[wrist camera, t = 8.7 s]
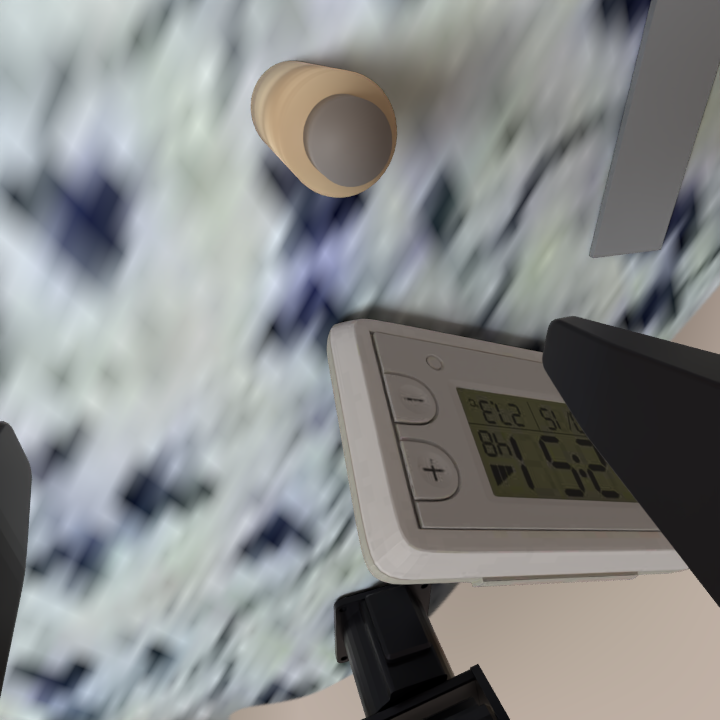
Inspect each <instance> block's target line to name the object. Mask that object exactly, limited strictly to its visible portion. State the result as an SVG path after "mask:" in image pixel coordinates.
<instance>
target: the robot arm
mask: <svg viewBox="0 0 720 720" xmlns="http://www.w3.org/2000/svg"><path fill="white" fill-rule="evenodd" d="M542 363H543V367H544V370H545V372H546V373H547V375H548V376H549V378H550V380H551V381H552V383H553V384H554V386H555V388H556V389H557V391H558V392H559V394H560V396H561V397H562V399H563V400H564V402H565V404H566V405H567V407H568V408H569V410H570V412H571V413H572V415H573V416H574V418H575V420H576V421H577V423H578V424H579V426H580V427H581V429H582V430H583V432H584V433H585V435H586V436H587V437H588V439H589V440H590V441H591V443H592V444H593V445H594V447H595V448H596V449H597V450H598V452H599V453H600V454H601V456H602V457H603V458H604V459H605V461H606V462H607V463H608V465H609V466H610V467H611V468H612V470H613V471H614V472H615V474H616V475H617V476H618V477H619V479H620V480H621V481H622V483H623V484H624V485H625V486H626V488H627V489H628V490H629V492H630V493H631V494H632V495H633V497H634V498H635V499H636V501H637V502H638V503H639V504H640V506H641V507H642V508H643V510H644V511H645V512H646V513H647V515H648V516H649V517H650V519H651V520H652V521H653V522H654V524H655V525H656V526H657V528H658V529H659V530H660V531H661V533H662V534H663V535H664V537H665V538H666V539H667V540H668V542H669V543H670V544H671V546H672V547H673V548H674V549H675V551H676V552H677V553H678V555H679V556H680V557H681V558H682V560H683V561H684V562H685V564H686V565H687V566H688V567H689V569H690V570H691V571H692V572H693V574H694V575H695V576H696V578H697V579H698V580H699V582H700V583H701V584H702V585H703V587H704V588H705V589H706V590H707V592H708V593H709V594H710V596H711V597H712V598H713V599H714V601H715V602H716V603H717V605H718V606H719V607H720V354H716V353H712V352H708V351H704V350H701V349H697V348H693V347H689V346H686V345H682V344H678V343H674V342H670V341H667V340H663V339H659V338H655V337H652V336H648V335H644V334H640V333H636V332H633V331H629V330H625V329H621V328H617V327H614V326H610V325H606V324H602V323H598V322H595V321H591V320H587V319H583V318H579V317H575V316H569V317H564V318H559V319H555V320H553V321H552V322H551V323H550V325H549V327H548V332H547V336H546V341H545V346H544V350H543V355H542ZM31 483H32V473H31V467H30V464H29V461H28V459H27V457H26V455H25V453H24V451H23V449H22V447H21V445H20V443H19V441H18V439H17V437H16V435H15V433H14V431H13V429H12V427H11V426H10V425H9V424H8V423H6V422H4V421H0V696H1V691H2V686H3V682H4V677H5V672H6V667H7V662H8V657H9V652H10V647H11V642H12V637H13V632H14V627H15V622H16V617H17V612H18V607H19V602H20V597H21V592H22V587H23V581H24V575H25V568H26V557H27V543H28V528H29V513H30V498H31ZM430 592H431V583H429V584H392V585H389V586H385V587H382V588H378V589H375V590H371V591H368V592H364V593H360V594H357V595H353V596H350V597H346V598H343V599H340V600H338V601H336V602H335V604H334V628H335V655H336V659H337V662H338V663H344V662H347V661H349V662H350V665H351V669H352V672H353V675H354V679H355V682H356V686H357V689H358V692H359V696H360V699H361V703H362V706H363V709H364V712H365V716H366V718H365V719H362V720H510V719H509V717H508V715H507V713H506V712H505V710H504V708H503V707H502V705H501V703H500V701H499V699H498V698H497V696H496V694H495V693H494V691H493V689H492V687H491V685H490V684H489V682H488V680H487V679H486V677H485V675H484V673H483V672H482V670H481V668H480V666H479V665H478V664H477V665H475V666H473V667H470V670H468V671H466V672H464V673H461V674H459V675H457V676H454V673H453V671H452V669H451V667H450V665H449V663H448V660H447V658H446V656H445V654H444V651H443V649H442V647H441V645H440V643H439V641H438V638H437V636H436V634H435V632H434V630H433V627H432V625H431V623H430V620H429V618H428V609H429V601H430Z"/></svg>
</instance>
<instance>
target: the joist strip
mask: <svg viewBox="0 0 720 720" xmlns="http://www.w3.org/2000/svg"><path fill="white" fill-rule="evenodd" d="M719 63H720V0H651V4H650V8H649V12H648V16H647V20H646V24H645V28H644V32H643V36H642V41H641V45H640V49H639V53H638V57H637V61H636V65H635V69H634V73H633V77H632V82H631V86H630V90H629V94H628V98H627V102H626V106H625V110H624V114H623V118H622V123H621V127H620V131H619V135H618V139H617V143H616V147H615V151H614V155H613V160H612V164H611V168H610V172H609V176H608V180H607V184H606V188H605V192H604V196H603V201H602V205H601V209H600V213H599V217H598V221H597V225H596V229H595V233H594V238H593V242H592V246H591V250H590V254H589V256H590V257H592V258H597V257H605V256H614V255H622V254H630V253H638V252H646V251H655V250H661V247H662V244H663V240H664V237H665V234H666V231H667V228H668V225H669V221H670V218H671V215H672V212H673V209H674V206H675V202H676V199H677V196H678V193H679V190H680V187H681V183H682V180H683V177H684V174H685V171H686V168H687V164H688V161H689V158H690V155H691V152H692V149H693V145H694V142H695V139H696V136H697V133H698V130H699V126H700V123H701V120H702V117H703V114H704V111H705V107H706V104H707V101H708V98H709V95H710V92H711V88H712V85H713V82H714V79H715V76H716V73H717V70H718V66H719Z"/></svg>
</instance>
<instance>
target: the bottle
mask: <svg viewBox="0 0 720 720" xmlns="http://www.w3.org/2000/svg"><path fill="white" fill-rule="evenodd" d="M251 115H252V120H253V124H254V126H255V129H256V131H257V133H258V134H259V136H260V137H261V139H262V140H263V141H264V142H265V143H266V144H267V145H268V146H269V148H270V149H271V150H272V151H273V152H274V153H275V154H276V155H277V156H278V157H279V158H280V159H281V160H282V161H283V162H284V164H285V165H286V166H287V167H288V168H289V169H290V170H291V171H292V172H293V173H294V174H295V175H296V176H297V177H298V179H299V180H300V181H301V182H302V183H303V184H305V185H306V186H307V187H308V188H310V189H311V190H313V191H315V192H317V193H319V194H321V195H325V196H328V197H348V196H352V195H356V194H358V193H361V192H363V191H365V190H366V189H368V188H369V187H371V186H372V185H373V184H375V183H376V182H377V181H378V180H379V179H380V177H381V176H382V175H383V174H384V172H385V171H386V169H387V167H388V166H389V164H390V162H391V159H392V157H393V154H394V151H395V146H396V139H397V125H396V118H395V114H394V111H393V108H392V106H391V103H390V101H389V99H388V98H387V96H386V95H385V93H384V92H383V90H382V89H381V88H380V87H379V86H378V85H377V84H376V83H374V82H373V81H372V80H371V79H369V78H367V77H366V76H364V75H361V74H359V73H356V72H352V71H347V70H342V69H337V68H331V67H326V66H321V65H315V64H310V63H305V62H299V61H285V62H281V63H278V64H276V65H274V66H272V67H270V68H269V69H268V70H267V71H265V72H264V74H263V75H262V76H261V77H260V79H259V80H258V81H257V83H256V85H255V88H254V91H253V94H252V98H251Z"/></svg>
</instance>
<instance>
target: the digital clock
mask: <svg viewBox="0 0 720 720" xmlns="http://www.w3.org/2000/svg"><path fill="white" fill-rule="evenodd" d="M542 355H543V352H537V351H532V350H527V349H522V348H517V347H512V346H507V345H502V344H497V343H492V342H487V341H482V340H477V339H472V338H467V337H462V336H457V335H452V334H447V333H442V332H437V331H432V330H426V329H421V328H416V327H411V326H406V325H401V324H396V323H390V322H384V321H378V320H372V319H356V320H351V321H346V322H342V323H338V324H335V325H334V326H333V327H332V328H331V331H330V333H329V335H328V340H327V357H328V364H329V369H330V375H331V381H332V387H333V393H334V398H335V404H336V410H337V416H338V422H339V427H340V433H341V439H342V445H343V451H344V456H345V462H346V468H347V474H348V480H349V486H350V491H351V497H352V503H353V509H354V515H355V520H356V526H357V531H358V536H359V541H360V545H361V550H362V554H363V557H364V561H365V563H366V565H367V568H368V570H369V571H370V572H371V574H372V575H373V576H374V577H376V578H377V579H379V580H381V581H383V582H387V583H391V584H429V583H455V582H468V583H472V586H473V587H482V586H503V585H524V584H544V583H565V582H586V581H587V582H588V581H609V580H630V579H634V578H636V577H637V576H638V575H643V574H666V573H674V572H681V571H684V570H687V569H689V567H688V566H687V565H686V564H685V562H684V561H683V560H682V558H681V557H680V556H679V555H678V553H677V552H676V551H675V549H674V548H673V547H672V546H671V544H670V543H669V542H668V540H667V539H666V538H665V537H664V535H663V534H662V533H661V531H660V530H659V529H658V528H657V526H656V525H655V524H654V522H653V521H652V520H651V519H650V517H649V516H648V515H647V513H646V512H645V511H644V510H643V508H642V507H641V506H640V504H639V503H638V502H637V501H636V499H635V498H634V497H633V495H632V494H631V493H630V492H629V490H628V489H627V488H626V486H625V485H624V484H623V483H622V481H621V480H620V479H619V477H618V476H617V475H616V474H615V472H614V471H613V470H612V468H611V467H610V466H609V465H608V463H607V462H606V461H605V459H604V458H603V457H602V456H601V454H600V453H599V452H598V450H597V449H596V448H595V447H594V445H593V444H592V443H591V441H590V440H589V439H588V437H587V436H586V435H585V433H584V432H583V430H582V429H581V427H580V426H579V424H578V423H577V421H576V420H575V418H574V416H573V415H572V413H571V412H570V410H569V408H568V407H567V405H566V404H565V402H564V400H563V399H562V397H561V396H560V394H559V392H558V391H557V389H556V388H555V386H554V384H553V383H552V381H551V380H550V378H549V376H548V375H547V373H546V372H545V370H544V367H543V363H542Z"/></svg>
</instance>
